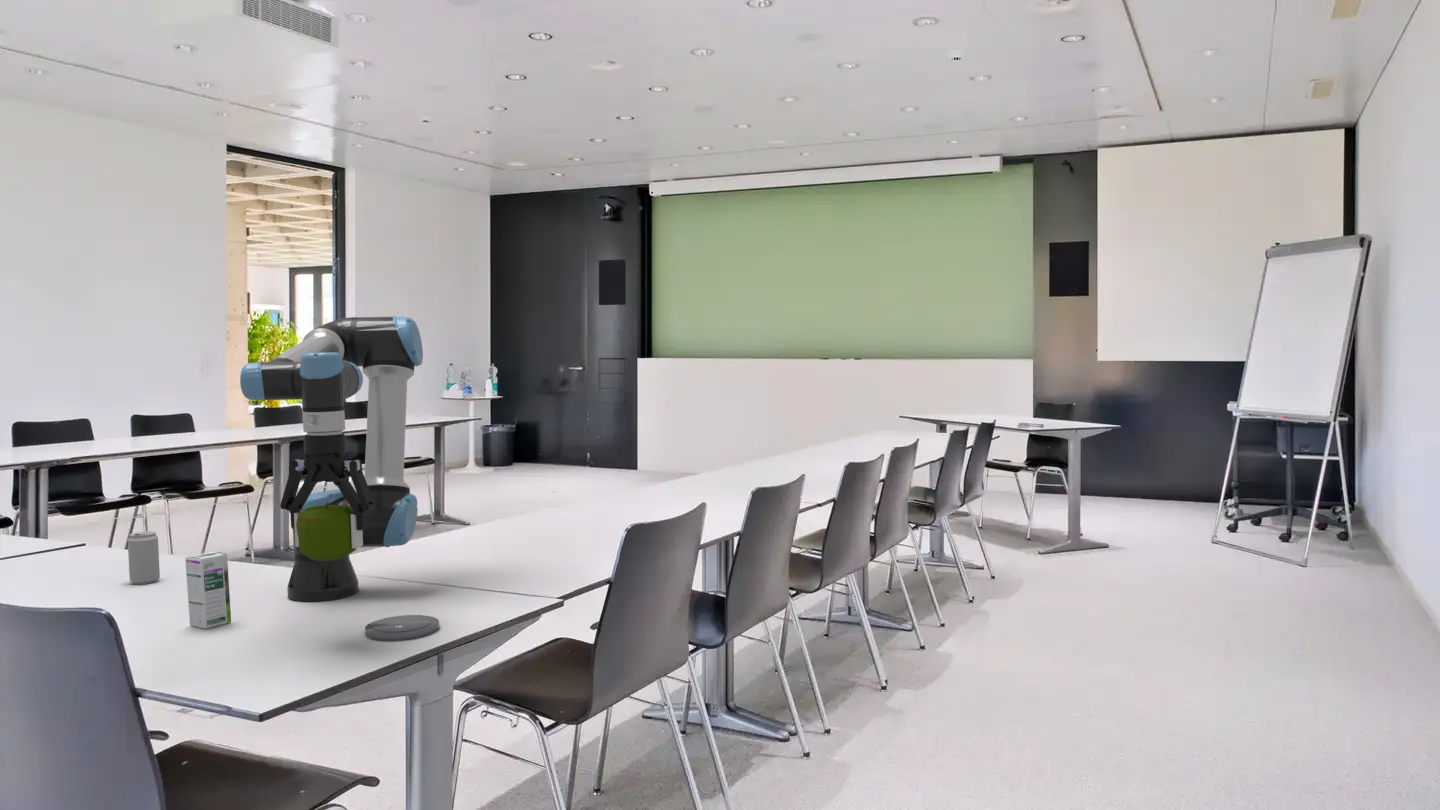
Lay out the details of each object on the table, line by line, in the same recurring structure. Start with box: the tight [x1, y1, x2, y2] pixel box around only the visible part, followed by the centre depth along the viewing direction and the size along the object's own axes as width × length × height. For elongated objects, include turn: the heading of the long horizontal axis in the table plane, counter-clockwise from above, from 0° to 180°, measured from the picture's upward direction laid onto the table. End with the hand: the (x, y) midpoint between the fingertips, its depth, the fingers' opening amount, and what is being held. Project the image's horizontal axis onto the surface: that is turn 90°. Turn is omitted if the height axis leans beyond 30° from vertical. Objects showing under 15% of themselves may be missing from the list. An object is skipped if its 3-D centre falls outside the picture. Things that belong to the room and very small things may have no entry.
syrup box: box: [184, 550, 232, 630], centre depth 211 cm, size 6×6×14 cm
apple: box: [296, 502, 358, 561], centre depth 198 cm, size 11×11×11 cm
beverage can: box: [127, 530, 161, 586], centre depth 249 cm, size 6×6×12 cm
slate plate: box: [364, 614, 440, 642], centre depth 204 cm, size 14×14×2 cm
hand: (329, 546), depth 199 cm, fingers closed on apple, 11 cm apart
